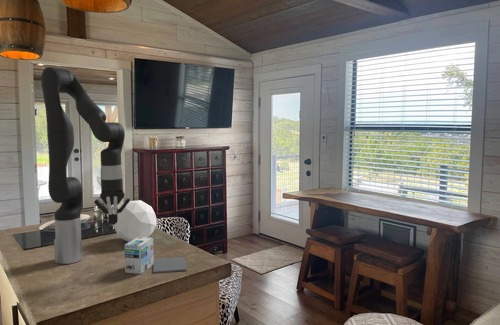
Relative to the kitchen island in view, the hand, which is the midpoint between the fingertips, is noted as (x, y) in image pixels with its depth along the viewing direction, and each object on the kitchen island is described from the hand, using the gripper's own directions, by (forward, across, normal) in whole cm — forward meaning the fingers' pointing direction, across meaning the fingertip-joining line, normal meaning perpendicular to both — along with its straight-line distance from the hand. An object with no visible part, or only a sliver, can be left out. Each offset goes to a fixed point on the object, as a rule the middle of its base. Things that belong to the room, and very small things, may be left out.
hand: (113, 224), depth 144 cm
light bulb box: (+18, +9, 0) cm, 20 cm away
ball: (+18, +5, +37) cm, 41 cm away
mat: (+18, +20, +1) cm, 27 cm away
